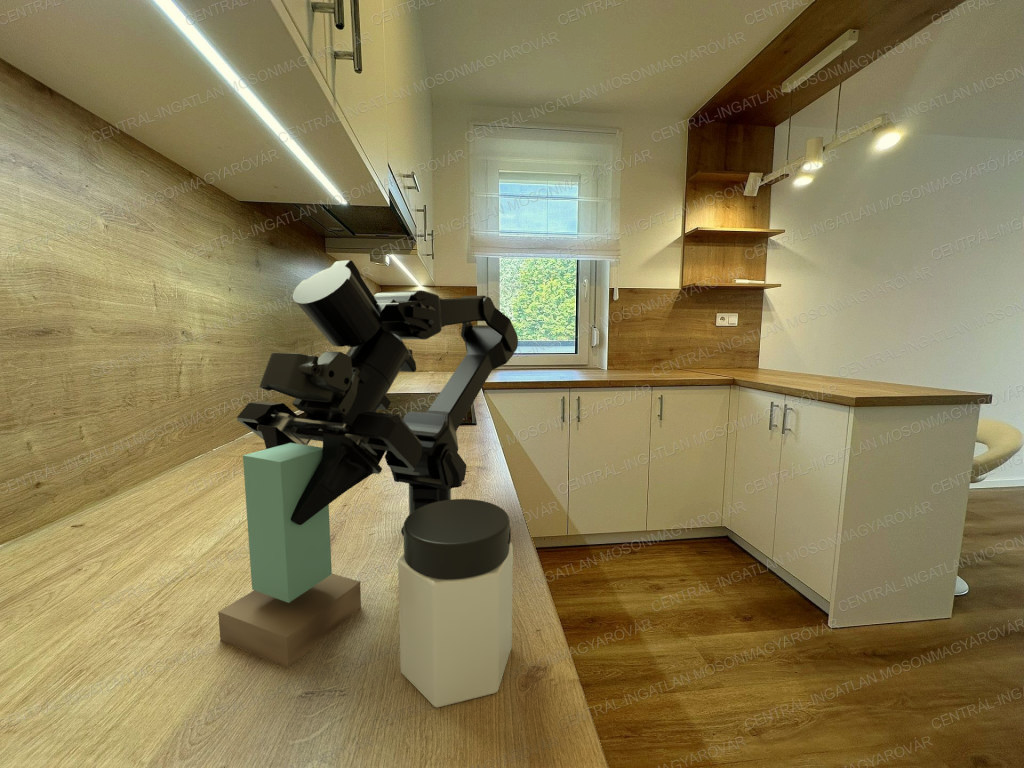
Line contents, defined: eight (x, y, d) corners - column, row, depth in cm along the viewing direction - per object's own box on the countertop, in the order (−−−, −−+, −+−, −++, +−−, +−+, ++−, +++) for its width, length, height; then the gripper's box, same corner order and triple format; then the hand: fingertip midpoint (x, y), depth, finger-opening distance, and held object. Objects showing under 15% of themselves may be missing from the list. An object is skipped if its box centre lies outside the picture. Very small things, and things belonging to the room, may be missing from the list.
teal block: (297, 563, 40) (290, 442, 38) (331, 574, 38) (326, 448, 37) (252, 589, 36) (242, 455, 34) (288, 602, 34) (280, 462, 32)
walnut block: (300, 591, 42) (298, 564, 42) (361, 610, 39) (360, 581, 39) (220, 644, 35) (218, 611, 35) (288, 673, 32) (286, 637, 32)
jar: (533, 662, 33) (536, 519, 32) (454, 732, 27) (452, 560, 26) (461, 611, 39) (461, 489, 38) (383, 659, 33) (379, 517, 32)
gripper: (249, 321, 41) (123, 457, 33) (399, 320, 34) (289, 493, 25) (317, 390, 49) (231, 513, 41) (450, 400, 42) (380, 553, 33)
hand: (275, 517), depth 35 cm, fingers closed on teal block, 4 cm apart
